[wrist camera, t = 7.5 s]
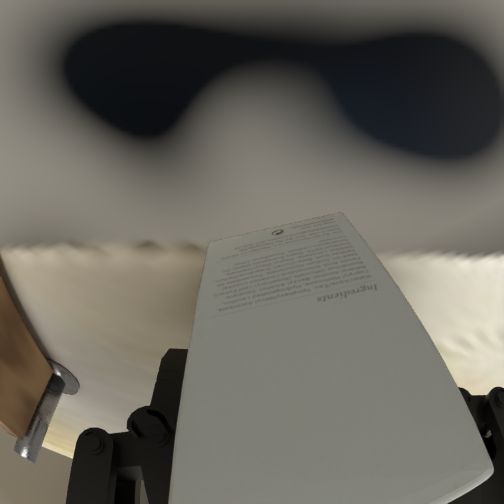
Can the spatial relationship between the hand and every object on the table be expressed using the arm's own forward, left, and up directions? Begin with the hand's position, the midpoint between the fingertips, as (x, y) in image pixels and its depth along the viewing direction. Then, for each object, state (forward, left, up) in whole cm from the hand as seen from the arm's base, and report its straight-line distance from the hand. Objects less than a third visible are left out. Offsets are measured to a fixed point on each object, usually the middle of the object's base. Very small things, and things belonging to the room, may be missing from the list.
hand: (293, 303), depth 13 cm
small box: (0, 0, 0) cm, 0 cm away
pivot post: (-19, -10, -1) cm, 21 cm away
